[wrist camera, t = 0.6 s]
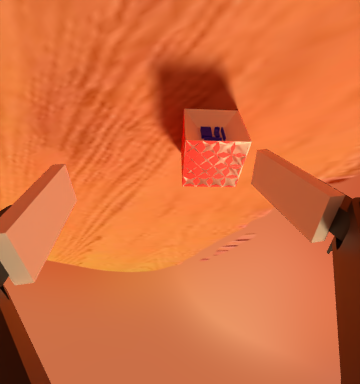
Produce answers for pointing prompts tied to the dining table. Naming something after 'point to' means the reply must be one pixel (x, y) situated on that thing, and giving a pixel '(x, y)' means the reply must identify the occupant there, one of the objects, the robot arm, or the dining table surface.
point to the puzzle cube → (213, 147)
